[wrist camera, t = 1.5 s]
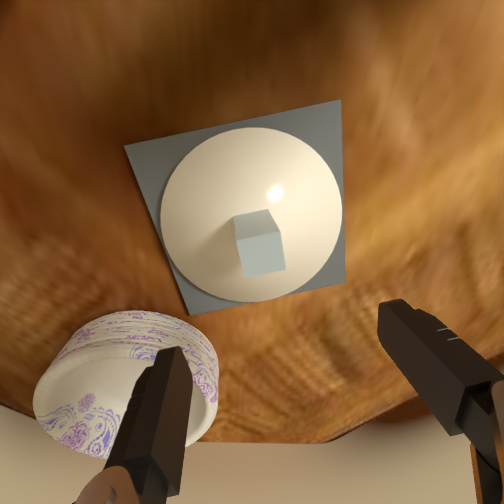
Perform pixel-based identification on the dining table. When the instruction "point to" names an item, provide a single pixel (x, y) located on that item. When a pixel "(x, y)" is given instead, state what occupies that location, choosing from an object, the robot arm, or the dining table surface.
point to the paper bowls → (119, 378)
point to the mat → (178, 146)
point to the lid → (251, 214)
